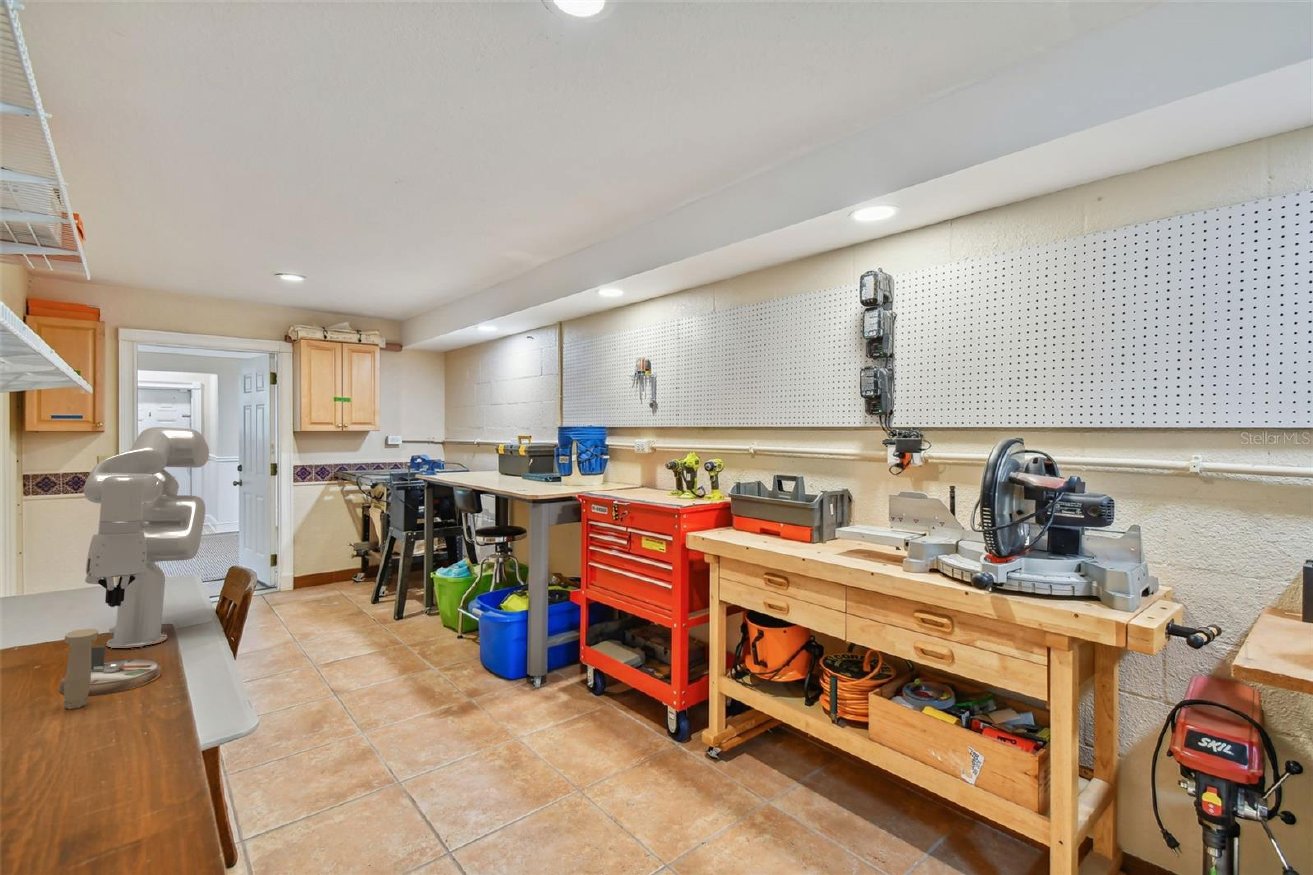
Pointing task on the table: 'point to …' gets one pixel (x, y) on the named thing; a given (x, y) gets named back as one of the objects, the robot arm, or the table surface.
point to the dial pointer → (109, 667)
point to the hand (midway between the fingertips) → (114, 605)
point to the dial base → (120, 678)
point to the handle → (78, 667)
